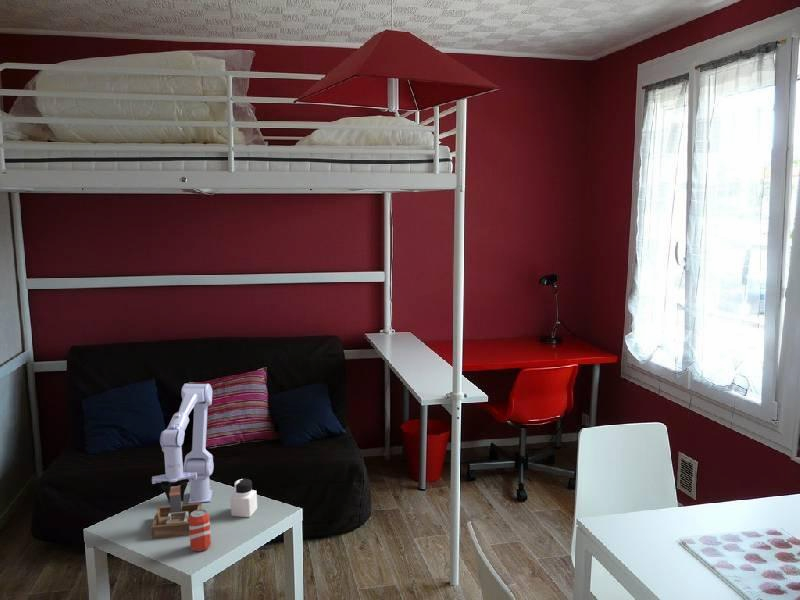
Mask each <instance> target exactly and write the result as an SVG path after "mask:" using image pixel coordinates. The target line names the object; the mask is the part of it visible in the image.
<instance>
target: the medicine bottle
mask: <svg viewBox="0 0 800 600" xmlns="http://www.w3.org/2000/svg"><path fill="white" fill-rule="evenodd" d="M257 509H258V495H257V490H254V489H253V481H252V480H251V479H249V478H241V479H238V480H236V481H234V493H233V494H232V495H231V497H230V512H231V517H241V518H251V517H252V515H253V514H255V512H256V510H257Z"/></svg>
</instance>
